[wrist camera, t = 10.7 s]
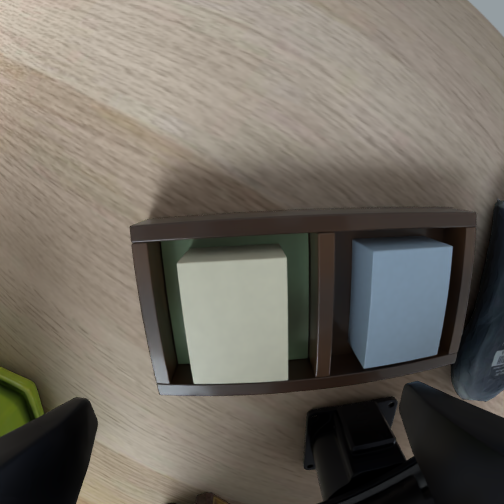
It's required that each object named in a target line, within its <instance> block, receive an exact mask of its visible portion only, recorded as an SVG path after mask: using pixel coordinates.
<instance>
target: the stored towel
mask: <svg viewBox="0 0 504 504" xmlns="http://www.w3.org/2000/svg"><path fill="white" fill-rule="evenodd" d="M452 250H453V246H451V245H448V244H446V243H443V242H440V241H437V240H434V239H431V238H429V237H426V236H405V237H383V238H362V239H352V273H351V298H350V316H349V330H348V343H349V345H350V346H351V348H352V350H353V351H354V353H355V355H356V356H357V358H358V360H359V362H360V363H361V365H362V367H363V368H364V369H365V368H371V367H377V366H383V365H389V364H394V363H400V362H405V361H410V360H415V359H419V358H424V357H428V356H433V355H437V352H438V347H439V343H440V338H441V333H442V327H443V322H444V316H445V310H446V303H447V297H448V289H449V281H450V272H451V262H452Z"/></svg>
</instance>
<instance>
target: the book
mask: <svg viewBox="0 0 504 504" xmlns="http://www.w3.org/2000/svg"><path fill="white" fill-rule="evenodd" d="M170 504H175V503H170ZM196 504H230V503H228V502H226V501H224V500H223V499H221V498H219V497H218V496H216V495H214V494H213V493H207V492H206V493H203V494H200V495H197V498H196Z"/></svg>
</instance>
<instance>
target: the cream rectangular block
mask: <svg viewBox="0 0 504 504" xmlns="http://www.w3.org/2000/svg"><path fill="white" fill-rule="evenodd" d="M177 271H178V280H179V288H180V296H181V304H182V312H183V319H184V326H185V333H186V340H187V346H188V352H189V359H190V365H191V371H192V377H193V382H194V384H228V383H254V382H272V381H285V380H288V281H287V257H286V255H285V253H284V252H283V250H282V248H281V246H280V244H261V245H242V246H223V247H205V248H190V249H189V250H188V251H187V252H186V253H185V254H184V255H183V257H182V258H181V259H180V260H179V261H178V262H177Z"/></svg>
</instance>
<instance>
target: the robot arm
mask: <svg viewBox="0 0 504 504" xmlns="http://www.w3.org/2000/svg"><path fill="white" fill-rule="evenodd" d="M390 403H391V404H390ZM397 404H398V402H397V400H396V399H395V397H393V396H391V397H386V398H381V399H376V400H371V401H365V402H360V403H354V404H347V405H341V406H334V407H327V408H319V409H313V410H310V411H309V412H308V413H307V417H306V432H305V446H304V458H303V466H304V469H306V470H313V469H316V471H317V476H318V480H319V485H320V489H321V494H322V498H323V502H320V503H318V504H504V418H503V417H500V416H498V415H495V414H493V413H491V412H488V411H486V410H483V409H481V408H479V407H476V406H474V405H472V404H469V403H467V402H465V401H462V400H460V399H458V398H455V397H453V396H451V395H449V394H446V393H444V392H442V391H440V390H437V389H435V388H433V387H431V386H428V385H426V384H424V383H422V382H419V381H415V382H411V383H407V384H405V386H404V388H403V392H402V396H401V400H400V404H399V412H400V415H401V418H402V421H403V424H404V427H405V430H406V433H407V436H408V439H409V443H410V446H411V449H412V452H413V454H414V456H413V457H412V458H410V459H408V460H406V458H405V456H404V454H403V452H402V450H401V448H400V446H399V445H398V443H397V441H396V437H395V436H394V434H393V432H392V430H391V426H392V423H393V419H394V415H395V412H396V408H397ZM315 415H317V416H316V417H313V416H315ZM97 427H98V421H97V418H96V415H95V413H94V410H93V408H92V405H91V403H90V401H89V400H88V399H86V398H79V397H75V398H73V399H71V400H70V401H68V402H66V403H64V404H62V405H60V406H58V407H57V408H55V409H53V410H51V411H49V412H47V413H45V414H44V415H42V416H40V417H38V418H36V419H34V420H32V421H30V422H28V423H26V424H24V425H23V426H21V427H19V428H17V429H15V430H13V431H11V432H9V433H7V434H5V435H3V436H1V437H0V504H76V502H77V499H78V495H79V492H80V489H81V486H82V483H83V480H84V477H85V475H86V472H87V468H88V465H89V461H90V457H91V453H92V448H93V444H94V440H95V435H96V431H97Z"/></svg>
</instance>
